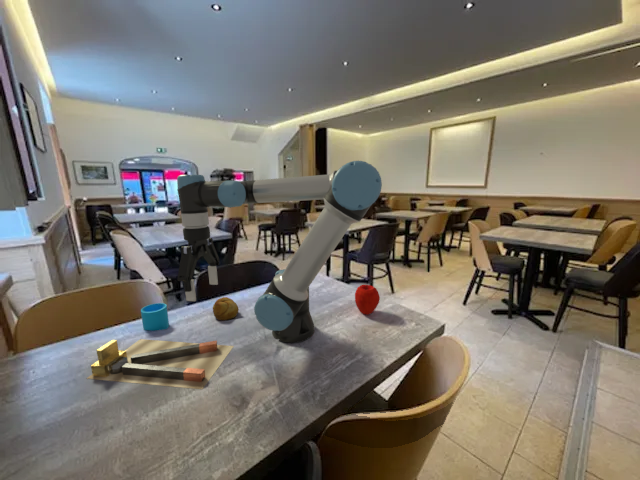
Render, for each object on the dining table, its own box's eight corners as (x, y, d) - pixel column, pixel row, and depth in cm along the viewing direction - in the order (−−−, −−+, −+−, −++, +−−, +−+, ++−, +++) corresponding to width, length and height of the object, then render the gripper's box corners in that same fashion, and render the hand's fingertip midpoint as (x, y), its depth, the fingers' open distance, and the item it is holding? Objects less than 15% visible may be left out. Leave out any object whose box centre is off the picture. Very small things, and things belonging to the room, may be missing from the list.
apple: (382, 311, 115) (383, 283, 113) (373, 320, 107) (374, 291, 104) (360, 305, 120) (361, 279, 118) (350, 314, 112) (351, 286, 110)
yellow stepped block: (127, 360, 80) (124, 338, 79) (106, 377, 74) (101, 353, 72) (115, 359, 81) (111, 337, 80) (92, 375, 74) (88, 352, 73)
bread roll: (212, 310, 116) (210, 293, 114) (235, 306, 119) (234, 289, 118) (214, 324, 104) (212, 305, 102) (240, 319, 108) (239, 300, 106)
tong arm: (217, 347, 87) (216, 340, 86) (217, 350, 85) (216, 343, 85) (133, 362, 80) (132, 354, 79) (131, 365, 78) (130, 358, 78)
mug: (166, 331, 99) (164, 310, 98) (140, 335, 97) (137, 314, 95) (172, 316, 110) (170, 297, 109) (149, 320, 108) (146, 300, 106)
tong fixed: (210, 371, 76) (209, 363, 76) (201, 382, 72) (200, 374, 71) (118, 363, 79) (117, 355, 79) (105, 373, 75) (103, 365, 75)
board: (234, 350, 88) (234, 345, 88) (202, 394, 70) (202, 389, 69) (140, 343, 92) (140, 339, 92) (87, 383, 74) (86, 378, 73)
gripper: (205, 221, 96) (211, 278, 100) (156, 233, 72) (167, 308, 76) (226, 221, 95) (231, 278, 99) (183, 233, 71) (192, 309, 75)
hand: (203, 291), depth 88 cm, fingers open, 13 cm apart
